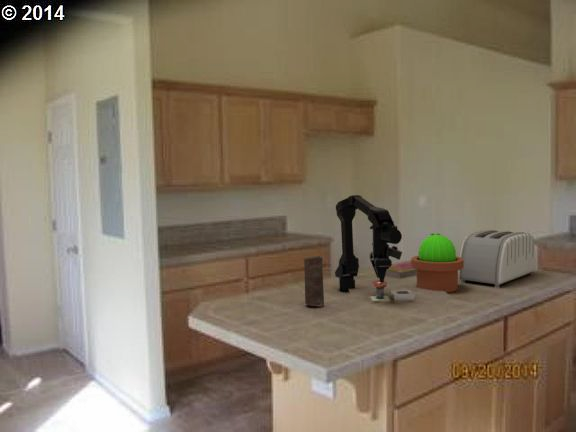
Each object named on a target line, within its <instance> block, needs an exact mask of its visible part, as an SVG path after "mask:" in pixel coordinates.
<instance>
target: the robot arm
mask: <svg viewBox="0 0 576 432" xmlns="http://www.w3.org/2000/svg"><path fill="white" fill-rule="evenodd" d="M357 210H359V211H360V212H361V213H363V214H365V215H366V216H367V220H368V221H369V222H370V223H371V226H370V227H369V230H372V243H371V247H372V251H371V252H370V253H369V259H370V260H369V261H370V263H371V265H372V268H373V272H374V273H375V276H376V278H378V279H379V280H380V282H381V283H382V282H384V281H385V278H386V276H385V274H386V270H387V269H388V268H390V267H391V266H392V265H393V264H392V263H393V262H392V260H391V258H395V259H396V260H398V261H399V260H400V259H401V257H402V255H403V251H401V250H399V249H398V246H396V245H397V244H399V243H400V242H401V240H402V239H403V236H402V233H401V231H400V230H399V229H398V226H397V225H395V222H394V220H393V218H392V216H391V214H390V212H389V210H387V209H385V208H383V207H379V206H376V205H373V204H372V203H370V201H368V200H366V199H365V198H363V196H362V195H360V194H354V195H353V194H351V195H350V196H348V197H346V198H345V199H342V200H340V201H338V202H337V204H336V205H335V211H336V216H337V218H338V219H339V221H340V230H341V231H340V233H341V234H340V235H341V249H342V250H341V252H342V254H341V255H340V258H339V259H338V266H337V267H336V269H335V271H334V275H335V277H336V278H338V291H339V292H341V293H347V292H350V290H349V289H356V280H355V277H358V273H359V268H360V263H359V261H360V260H359V257H356V255H355V253H354V233H353V231H354V230H353V220H354V219H355V216H356V215H357V214H356V211H357ZM389 244H392V246H390V245H389ZM390 257H391V258H390Z"/></svg>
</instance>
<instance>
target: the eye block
mask: <svg viewBox="0 0 576 432" xmlns="http://www.w3.org/2000/svg"><path fill="white" fill-rule="evenodd" d="M390 295H391V297H392V299H393V300H394V301H415V300H416V294H415V292H413V291H412V290H411V289H403V290H402V289H397V290H394V289H393V290H390Z"/></svg>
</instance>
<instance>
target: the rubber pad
mask: <svg viewBox="0 0 576 432" xmlns="http://www.w3.org/2000/svg"><path fill="white" fill-rule="evenodd" d="M370 298H371V299H372V301H390V299H389V298H388V296H384V299H377V298H376V296H370Z"/></svg>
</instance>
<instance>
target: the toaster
mask: <svg viewBox="0 0 576 432" xmlns="http://www.w3.org/2000/svg"><path fill="white" fill-rule="evenodd" d="M534 240H535V239H534V236H533V235H532V234H530V233H528V232H524V231H521V232H520V231H519V232H512V231H509V230H508V231H505V230H501V231H498V230H493V229H487V230H480V231H476V232H473V233H470V234H468V235H467V236H466V237H465V238H463V240H462V244H461V248H460V249H461V250H460V253H459V257H461V258H463V260H464V261H463V269H461V270H458V277H459V279H460V284H465V283H466V281H470V282H477V283H484V284H485V283H486V284H489V285H490V284H493V285H494V288H495V289H500V285H502V284H505V283H507V282H510V281H512V280H515V279H519V278H520V277H523V276H525V275H531V276H532V275H533V276H534V272H535V271H536V270H537V254H536V253H537V251H536V245H535V241H534Z"/></svg>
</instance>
